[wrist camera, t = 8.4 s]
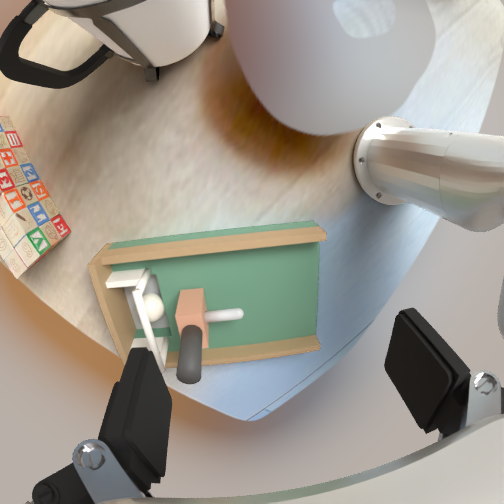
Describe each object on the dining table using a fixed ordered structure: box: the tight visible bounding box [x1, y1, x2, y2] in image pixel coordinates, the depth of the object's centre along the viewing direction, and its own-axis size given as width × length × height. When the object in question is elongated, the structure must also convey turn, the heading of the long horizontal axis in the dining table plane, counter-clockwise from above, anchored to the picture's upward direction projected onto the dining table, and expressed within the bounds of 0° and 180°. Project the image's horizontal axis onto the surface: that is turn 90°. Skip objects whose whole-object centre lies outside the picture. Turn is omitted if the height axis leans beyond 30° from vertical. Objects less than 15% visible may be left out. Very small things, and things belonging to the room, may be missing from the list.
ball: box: [136, 293, 165, 322], centre depth 38 cm, size 4×4×4 cm
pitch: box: [87, 221, 326, 372], centre depth 36 cm, size 28×18×9 cm, turn 94°
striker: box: [175, 288, 244, 384], centre depth 32 cm, size 8×5×13 cm, turn 94°
